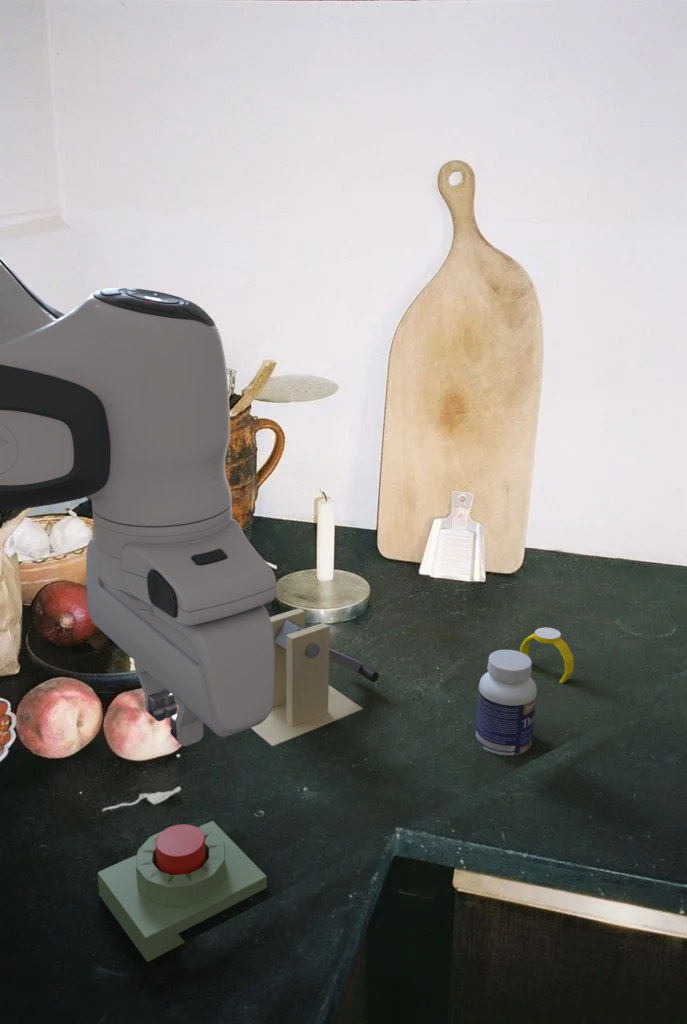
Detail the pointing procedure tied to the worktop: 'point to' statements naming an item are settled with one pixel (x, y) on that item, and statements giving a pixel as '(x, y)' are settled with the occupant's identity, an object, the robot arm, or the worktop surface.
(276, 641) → the lever
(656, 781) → the worktop surface
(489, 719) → the pill bottle
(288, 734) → the tan bracket
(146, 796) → the worktop surface
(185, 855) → the button
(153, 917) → the block
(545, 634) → the watch
